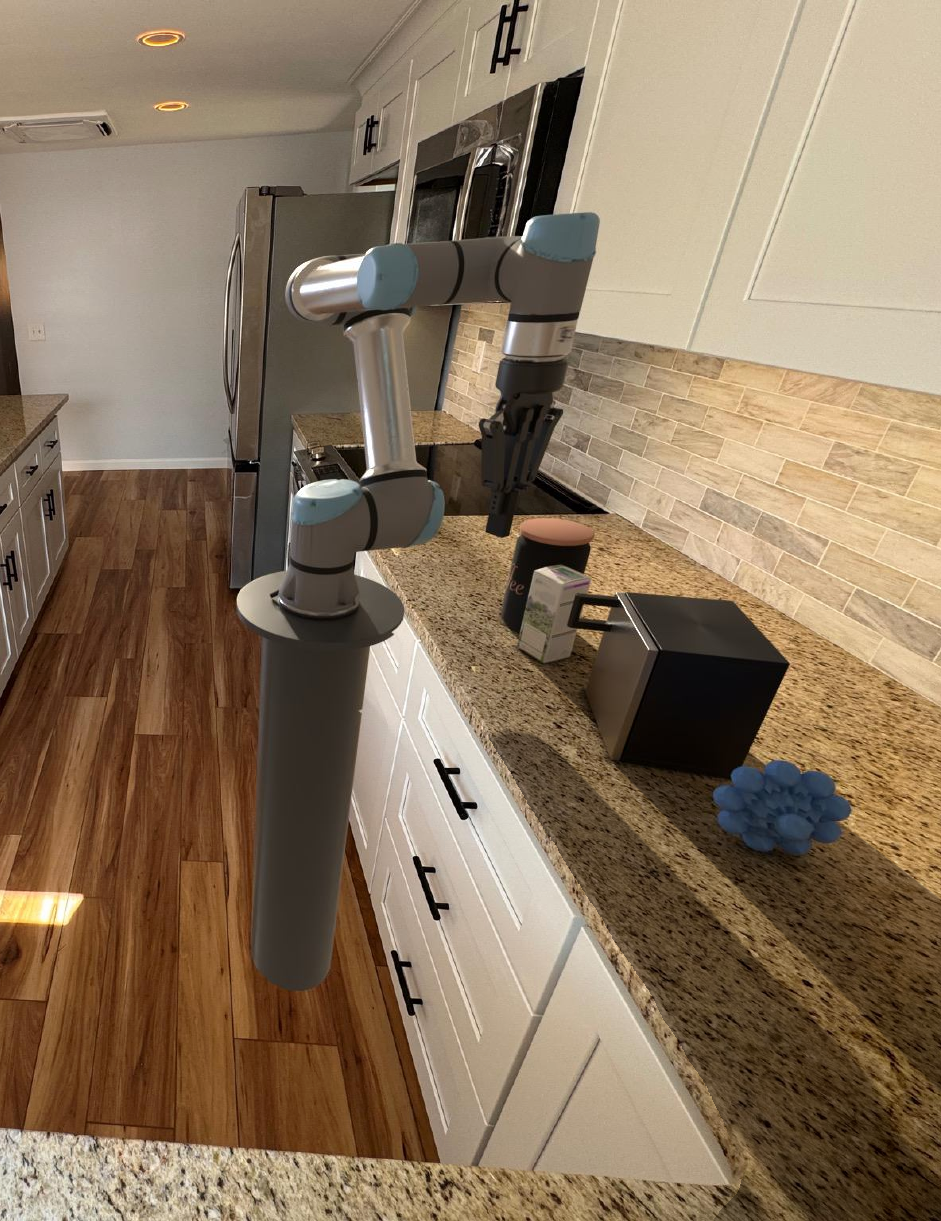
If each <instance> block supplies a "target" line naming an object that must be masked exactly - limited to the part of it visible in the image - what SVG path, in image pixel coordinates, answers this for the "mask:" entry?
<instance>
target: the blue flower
mask: <svg viewBox="0 0 941 1221" xmlns="http://www.w3.org/2000/svg"><path fill="white" fill-rule="evenodd" d="M730 780H731V784H732V785H728V784H727V785H726V784H723V785H720V786H718V787H716V788H715V789H714V791H713V793H712V796H713V801H714V804H715V805H716V806H717V807H718V808H719V809H721V810H720V811H719V812H718V815H717V821H718V825H719V826H720V828H721V829H722V830H723V831H724V832H726V833H728V834H730V835H734V836H742V840H743V842H744V843H745V845H746V846H747V847H748V848H750V849H752V850H754V851H755V852H756V851H757V852H762V853H765V852H766V853H767V852H771V851H772V850H774V849H775V848H776V846H777V847H779V848H780V849H781V850H782V851H783V852H785V853H787V854H789V855H792V856H805V855H807V854H808V853H810V851H811V849H812V847H813V843H812V840H813V841H815V842H817V843H820V844H825V845H827V844H828V845H829V844H834V843H836V842H838V841H840V838H841V837H842V834H843V833H842V828H841V826H840V824H839V823H838V822H843V821H845V820H848V818H850V815H851V813H852V807H851V803H850V802H849V800H847V799H846V797H844V796H841V795H840V794H837V793H835V791H836V789H837V787H836V783H835V780H834V779H832V777H831V776H830V775H829V774H826V773H825V772H822V771H821V770H820V771H819V770H806V771H804V772H802V771H801V769H800V768H799V767H798V766H797V765H796V764H795V763H793V762H790V761H788V760H782V759H781V760H780V759H775V760H772V761H770V762H768V763H766V765H765V767H764V769H763V772H762V770H760V769H758V768H756V767H754V766H747V765H746V766H745V765H742V766H741V767H738V768H736V769H735V770H733V772H732V774H731V779H730Z"/></svg>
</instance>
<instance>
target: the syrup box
mask: <svg viewBox="0 0 941 1221" xmlns="http://www.w3.org/2000/svg"><path fill="white" fill-rule="evenodd" d="M591 583H592V577H591V576H588V575H586V574H585V573H584V574H582V573H579V572H577V571H575V570H573V569H570V568H568V567H566V566H563V565H554V566H549V567H545V568H541V569H538V570H534V574H533V578H532V583H531V587H530V592H529V596H528V600H527V605H526V609H525V613H524V618H523V622H522V626H521V630H520V633H519V635H518V640H517V644H516V648H517V649H519V650H521V651H522V652H524V653H525V654H527V655H529V656H531V657H532V658H533V659H535V660H537V661H539V662H540V663H543V664H546V663H551V662H556V661H559V660H564V659H567V658H570V657H571V655H572V651H573V648H574V644H575V639H576V636H577V632H578V629H576V628H569V627H568V626H567V623H568V619H569V616H570V612H571V608H572V605H573V601H574V598H575V594H576V593H583V594H589V589H590V586H591ZM584 607H585V605H583V607H582V611H581V614H580V618H582V614H583V611H584Z"/></svg>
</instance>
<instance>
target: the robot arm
mask: <svg viewBox="0 0 941 1221" xmlns="http://www.w3.org/2000/svg"><path fill="white" fill-rule="evenodd" d="M600 225H601V219H600V217H599V215H598V214H597V213H595V212H592V211H586V212H585V211H584V212H571V213H570V212H569V213H558V214H546V215H545V214H544V215H537V216H533V217H530V219H529V220H527V222H526V224H525V227H524V230H523V234H522V236H520V235H515V236H513V235H511V236H505V235H498V236H487V237H483V238H482V237H481V238H468V239H457V240H446V241H431V242H413V243H402V242H396V243H389V244H385V245H379V246H374V247H372V248H370V249H369V250H367V251H366V253H356V254H355V253H353V254H341V255H339V254H338V255H326V256H325V255H323V256H320V257H316V258H312V259H310V260H308V261H306V262H304V263H302V264H301V265H299V266H298V267H297V268H295V270H294V271H293V272H292V274H291V275H290V277H289V279H288V281H287V283H286V286H285V303H286V305H287V309H288V310H289V312H290V313H291V314H292V315H293V316H294V317H295V318H296V319H298V320H299V321H300V322H302V323H303V322H304V323H305V324H309V325H313V326H339V325H340V326H342V331H343V338H344V340H345V341H347V342H349V343H350V344H352V345H353V350H354V352H353V353H354V362H355V363H354V364H355V372H356V380H357V390H358V399H359V408H360V418H361V428H362V436H363V446H364V447H363V448H364V456H365V464H366V465H365V466H366V470H365V472H364V474H362V476H361V477H360V478H359V483H358V482H357V481H354V480H352V479H345V478H342V479H337V478H332V479H330V478H329V479H323V480H319V481H318V480H317V481H315V482H312V483H309V484H307V485H304V486H303V487H302V488H300V489H299V490H298V491H297V493H295V495H294V498H293V505H292V511H291V513H290V520H291V530H290V531H291V532H290V548H289V549H290V550H289V564H288V567H287V570H286V571H287V572H286V574H285V577H284V579H283V582H282V584H281V586H280V589H279V590H277V591H275V592H273V593H271V594H270V597H271V598H274V597H276V596H278V603H279V605H280V607H281V608H282V609H283V610H285V611H286V612H288V613H290V614H292V615H294V616H297V617H300V618H304V619H310V620H320V621H328V620H337V619H342V618H346V617H348V616H351V615H352V614H354V613H355V612H356V611H357V610H358V608H359V604H360V600H361V599H360V593H359V589H358V585H357V581H356V578H355V575H356V574H355V571H354V570H355V569H354V563H355V555H356V553H359V552H360V553H361V552H369V551H380V550H390V549H399V548H401V549H407V548H410V547H414V546H422V545H426V544H427V543H429V542H430V541H432V540H433V539H434V538H435V537H436V535H437V534H438V532H439V529H440V528H441V527H442V524H443V520H444V517H445V509H446V507H445V506H446V503H445V494H444V491H443V489H441V486H440V484H439V483H438V482H436V481H433V480H430V479H428V473H427V472H428V470H427V468H426V467H424V466H423V465H421V464H420V463H418V462H417V455H416V454H417V452H416V446H415V436H414V427H413V426H414V425H413V416H412V408H411V398H410V390H409V389H410V388H409V380H408V370H407V360H406V352H405V342H404V332H405V331H406V329H407V328H408V327H409V325H410V324H411V318H412V316H414V314H415V313H416V312H417V310H418V308H421V307H428V306H429V307H430V306H431V307H432V306H443V305H445V306H446V305H460V304H473V303H485V302H501V303H502V302H506V303H507V302H508V303H510V306H509V312H508V315H507V321H506V324H505V330H504V335H503V340H502V344H501V350H500V352H501V353H502V354H503V355H504V356H505V357H503V358H501V360H499V363H498V368H497V375H496V379H495V383H494V384H495V388H496V389H497V390H499V392H500V396H499V399H498V402H497V403H496V405H495V408H494V409H495V412H494V413H493V414H492V415H491V416H490V417H489V418H484V417H483V418H481V419H480V420H479V421H478V429H479V431H480V432H479V433H480V435H481V470H480V471H481V472H480V474H481V476H480V478H481V480H480V482H481V483H480V484H481V486H482V487H484V488H488V489H490V490H491V495H490V500H489V505H488V516H487V520H486V526H485V531H484V533H486V534H489V535H492V536H494V537H497V538H500V539H504V538H508V537H510V535H511V529H512V526H513V520H514V516H515V512H516V509H517V507H518V502H519V498H520V495H521V494H520V493H521V491H524V492H527V491H529V490H530V487H531V485H529V484H527V483H533V482H534V481H535V479H536V477H537V474H538V472H539V470H540V467H541V464H542V462H543V459H544V456H545V454H546V452H547V449H548V446H549V444H550V440H551V439H552V435H553V433H554V431H555V428H556V426H557V424H558V423H559V422H560V420H561V418H562V416H564V409H563V408H559V407H555V406H554V405H553V402H554V394H553V393H556V392H559V391H560V390H562V389H563V387H564V385H565V380H566V375H567V371H568V366H569V361H568V359H567V358H566V357H564V356H567V355H569V354H570V353H571V352H572V348H573V343H574V339H575V335H576V329H577V325H578V321H579V319H580V318H579V317H580V315H581V314H580V313H581V311H582V306H583V302H584V298H585V295H586V290H587V286H588V282H589V278H590V274H591V270H592V266H593V265H592V264H593V261H594V258H595V256H596V254H597V242H598V236H599V231H600V230H599V229H600Z"/></svg>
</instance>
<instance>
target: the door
mask: <svg viewBox="0 0 941 1221" xmlns="http://www.w3.org/2000/svg"><path fill="white" fill-rule="evenodd" d="M583 605H584V606H593V607H603V608H610V609H609V613H608V616H607V619H606V620H603V619H595V618H584V617H581V618H580V614H581V611H582V607H583ZM583 608H584V607H583ZM582 612H583V611H582ZM581 615H582V614H581ZM567 626H568V627H569V628H576V629H577V630H587V631H594V632H595V631H596V632H602V635H601V639H600V641H599V645H598V648H597V652H596V655H595V658H594V662H593V665H592V668H591V671H590V674H589V677H588V681H587V684H586V687H585V691H584V693H585V695H586V698H587V701H588V704H589V707H590V709H591V711H592V715H593V717H594V719H595V723H596V725H597V727H598V730H599V732H600V735H601V739H602V740H603V743H604V746H605V748H606V751H607V754H608V756H609V759H610V760H613V761H619V762H620V761H621V759H620V757H621V754H622V751H623V749H624V746H625V743H626V740H627V737H628V735H629V732H630V729H631V726H632V723H633V721H634V718H635V715H636V712H637V709H638V707H639V704H640V701H641V698H642V695H643V693H644V690H645V687H646V684H647V681H648V679H649V676H650V673H651V670H652V667H653V665H654V662H655V659H656V656H657V653H658V649H657V648H656V646H655V644H654V643H653V641H652V639H651V638H650V636H649V634H648V632H647V631H646V629H645V627H644V626H643V624H642V622H641V621H640V619H639V617H638V616H637V614H636V612H635V611H634V609H633V607H632V606H631V604H630V602H629V601H628V599H627V597H626V596H625V592H619V591H618V592H617V591H616V592H615V593H614V595H605V594H595V593H594V594H592V593H588V594H583V593H576V594H575V598H574V601H573V605H572V608H571V612H570V616H569V619H568V623H567Z"/></svg>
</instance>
